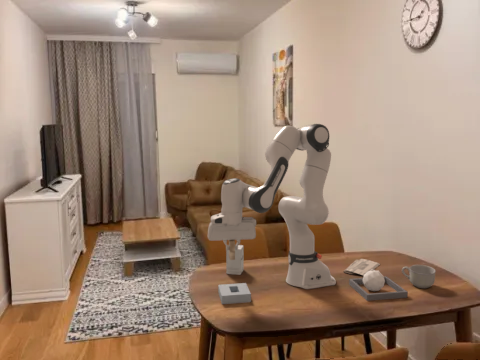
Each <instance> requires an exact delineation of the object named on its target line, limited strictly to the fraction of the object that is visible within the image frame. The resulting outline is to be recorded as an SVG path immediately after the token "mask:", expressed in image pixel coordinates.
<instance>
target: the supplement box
mask: <svg viewBox="0 0 480 360" xmlns="http://www.w3.org/2000/svg"><path fill="white" fill-rule="evenodd" d="M244 247H245V246H244V245H242V244H239V245H238V250H235V260H230V258H229V250H226V249H225V252H226V253H225V254H226V255H225V256H226V260H225V261H226V264H225V266H226V274H227V275H239V276H240V275H242V273H243V271H244V267H245V265H244V264H245V263H244V262H245V261H244Z"/></svg>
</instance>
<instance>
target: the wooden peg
mask: <svg viewBox="0 0 480 360" xmlns="http://www.w3.org/2000/svg"><path fill="white" fill-rule="evenodd" d="M228 245H229V246H230V250H229V258H230V260H235V245H236V240H228Z"/></svg>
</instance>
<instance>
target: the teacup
mask: <svg viewBox="0 0 480 360" xmlns="http://www.w3.org/2000/svg"><path fill="white" fill-rule="evenodd" d="M405 270H407V271H408V273H409V274H407V273H406V272H405ZM436 271H437V270H436V269H435V268H434V267H432V266H429V265H426V264H413V265H411V266H403V267H402V268H401V273H402V274H403V276H405V277H406V278H407V279H408V280H409V282H410V283H411V284H412V285H413V286H414V287H415V288H418V289H428V288H431V287H432V286H433V285H434V284H435V280H436V279H435V278H436Z"/></svg>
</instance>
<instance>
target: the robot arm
mask: <svg viewBox="0 0 480 360" xmlns="http://www.w3.org/2000/svg"><path fill="white" fill-rule="evenodd" d="M329 142H330V131H329V128H328V127H327V126H326V125H325V124H320V123H314V124H307V125H304V126H302V127H298V128H297V127H295V126H293V125H285V126H283V127H281V129H280V130H279V131H278V132H277V133H276V134H275V136H274V137H273V138H272V139H271V141H270V142H269V143H268V145H267V147H266V149H265V152H264V156H265V157H264V158H265V160H266V162H267V163H268V164H269V165H270V167H271V169H270V171H269V174H268V176H267V177H266V179H265V181H264V183H263V185H261V186H259V187H258V186H254V185H251V184H248V183H245V182H244V181H243V180H242V179H240V178H229V179H226V180H224V181H223V183H222V185H221V193H220V201H221V209H220V211H221V212H219V213H216V214H213V215H211V216H210V222H209V224H208V228H207V239H208V240H209V241H210V242H212V241H223V244H224V245H225V251H226V250H230V246H229V244H228V241H229V240H235V241H236V242H235V250H238V245H241V240H255V239H256V237H257V232H256V226H257V220H256V218H254V217H253V216H250V217H247V216H244V217H243V208H247V209H250V210H252V211H254V212H257V213H258V214H263V213H266V212H268V211H269V210H270V209H271V208H272V206H273V204H274V202H275V201H274V200H275V197H276V194H277V192H278V190H279V188H280V186H281V184H282V182H283V180H284V178H285V176H286V174H287V172H288V168H289V163H290V160H291V157H292V156H293V154H294V153H295V151H296V150H297V151H303V152H304V151H306V160H305V163H304V165H303V168H302V170H301V171H302V172H301V174H300V177H299V180H298V181H299V185H300V187H302V189H303V195H302V196H296V195H287V196H283V197H282V198H281V199H280V201H279V202H278V207H277V208H278V209H277V210H278V213H279V214H280V216H281V217H282V218H283V219H284V221H285V223H286V226H287V227H286V228H287V230H288V235H289V251H288V269H287V275H286V278H285V282H286V283H287V284H288V285H290V286H294V287H298V288H302V289H305V290H311V289H317V288H324V287H329V286H335V285H336V284H337V281H336V279H335V277H334V276H333V275H331V271H330V268H329V267H328V265H326V264H325V263H324V262H323V261H322V260H321V259H322V258H323V256H322V255H321V254H320V253H318V251H315V237H316V236H315V235H314V233H313V231H312V230H311V229H310V227H309V226H308V225H311V226H315V225H316V226H317V225H323V224H324V223H325V222H326V221H327V219H328V217H329V214H330V212H329V207H328V205H327V204H326V203H325V199H324V187H325V184H326V179H327V176H328V172H329V169H330V166H331V160H332V152H331V150H330V149H328V148H329V145H330V143H329Z"/></svg>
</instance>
